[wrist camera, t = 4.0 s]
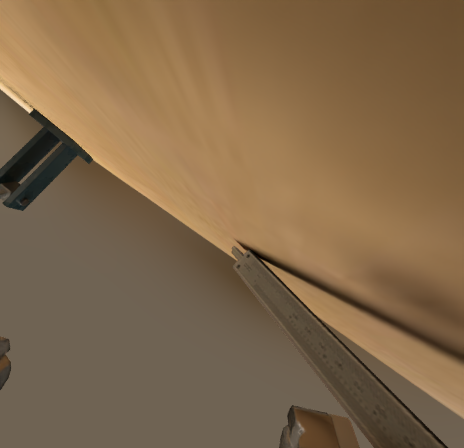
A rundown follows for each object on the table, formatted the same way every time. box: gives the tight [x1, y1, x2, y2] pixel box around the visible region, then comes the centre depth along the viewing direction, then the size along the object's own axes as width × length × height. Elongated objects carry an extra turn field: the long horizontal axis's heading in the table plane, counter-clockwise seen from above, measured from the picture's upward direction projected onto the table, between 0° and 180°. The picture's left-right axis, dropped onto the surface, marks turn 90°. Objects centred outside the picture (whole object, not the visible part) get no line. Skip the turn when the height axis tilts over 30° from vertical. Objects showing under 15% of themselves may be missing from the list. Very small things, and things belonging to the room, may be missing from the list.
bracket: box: [0, 109, 93, 211], centre depth 48 cm, size 9×8×15 cm
